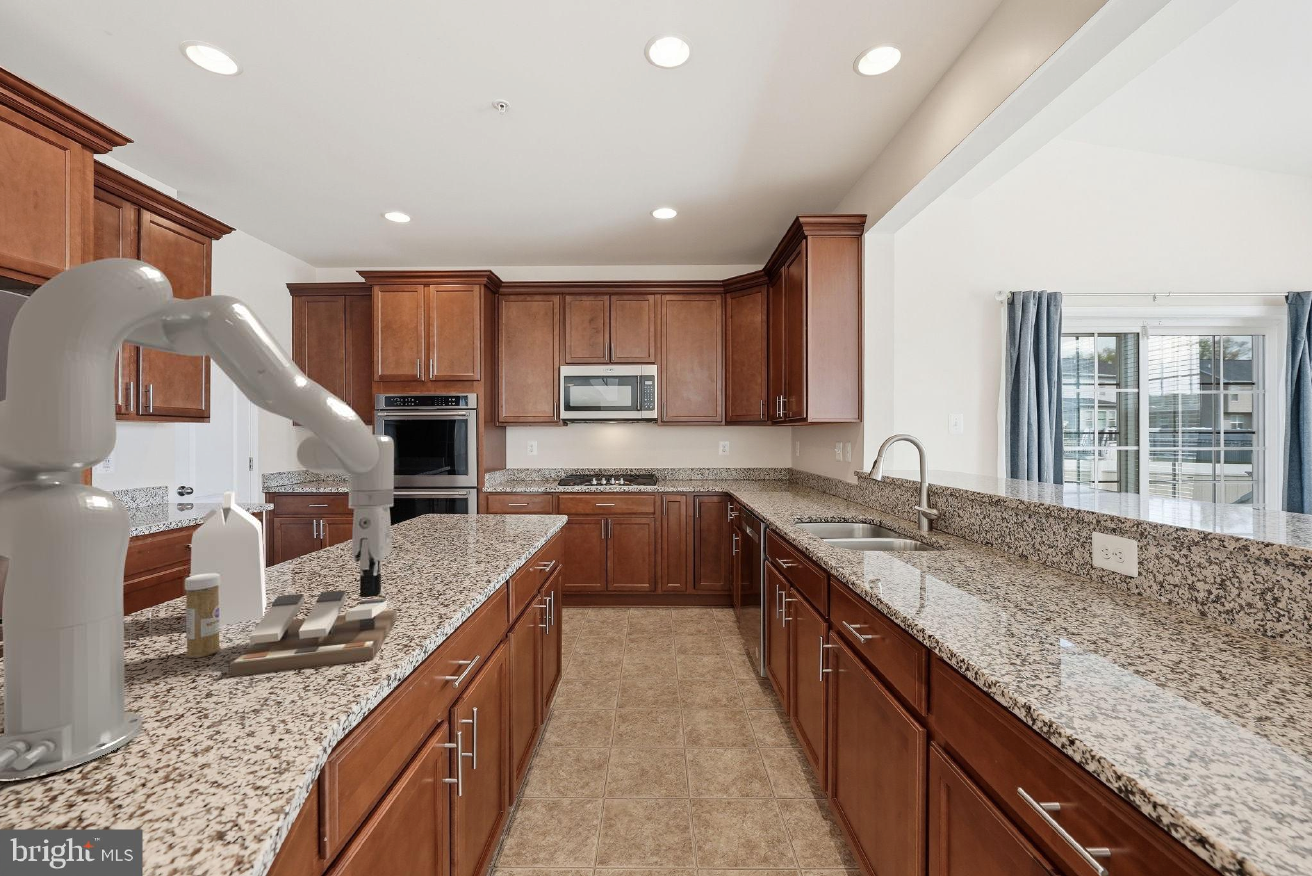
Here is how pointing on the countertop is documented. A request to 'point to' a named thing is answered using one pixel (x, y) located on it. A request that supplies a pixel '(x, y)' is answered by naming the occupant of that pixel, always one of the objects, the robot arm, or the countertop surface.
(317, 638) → the switch unit
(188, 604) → the sprinkles bottle
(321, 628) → the rocker middle
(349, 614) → the block
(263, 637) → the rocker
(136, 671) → the countertop surface
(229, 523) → the milk
